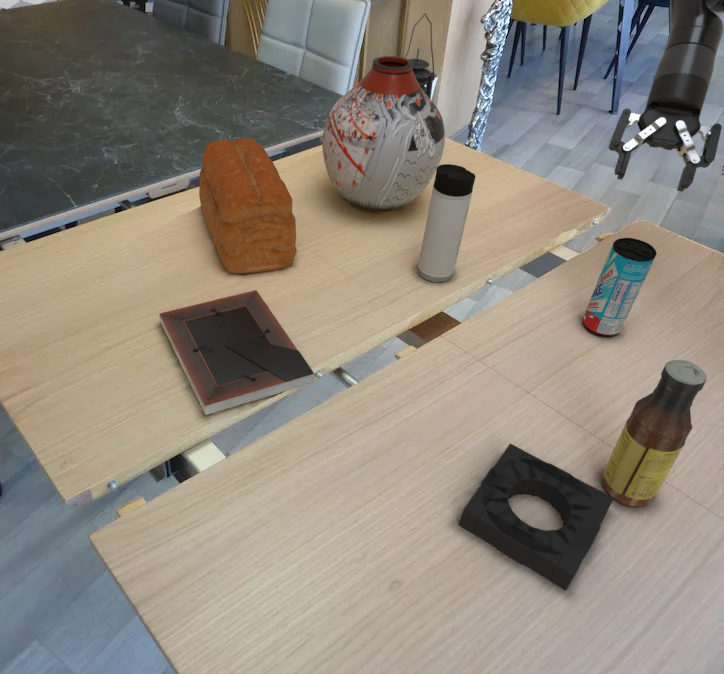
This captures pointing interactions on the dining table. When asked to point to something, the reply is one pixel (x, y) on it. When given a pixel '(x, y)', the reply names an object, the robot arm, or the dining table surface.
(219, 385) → the picture frame
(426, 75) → the lantern
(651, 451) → the sauce bottle
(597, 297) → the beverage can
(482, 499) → the pad
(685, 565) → the dining table surface
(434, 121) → the vase
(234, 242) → the bread
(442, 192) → the travel mug
